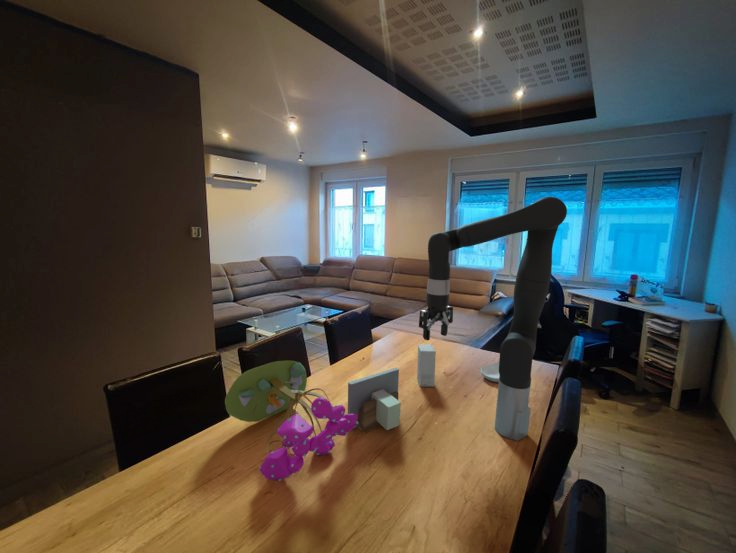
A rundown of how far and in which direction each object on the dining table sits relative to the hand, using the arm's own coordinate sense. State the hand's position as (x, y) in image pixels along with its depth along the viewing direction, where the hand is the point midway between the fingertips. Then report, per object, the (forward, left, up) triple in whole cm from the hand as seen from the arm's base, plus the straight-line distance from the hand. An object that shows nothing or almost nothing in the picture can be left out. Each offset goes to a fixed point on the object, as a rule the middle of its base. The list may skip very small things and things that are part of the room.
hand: (435, 337), depth 111 cm
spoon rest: (+2, -48, -29) cm, 56 cm away
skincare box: (+17, -14, -28) cm, 36 cm away
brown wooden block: (+5, +20, -28) cm, 35 cm away
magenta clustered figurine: (+11, +48, -28) cm, 57 cm away
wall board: (+8, +20, -28) cm, 35 cm away
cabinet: (+2, +20, -25) cm, 32 cm away
